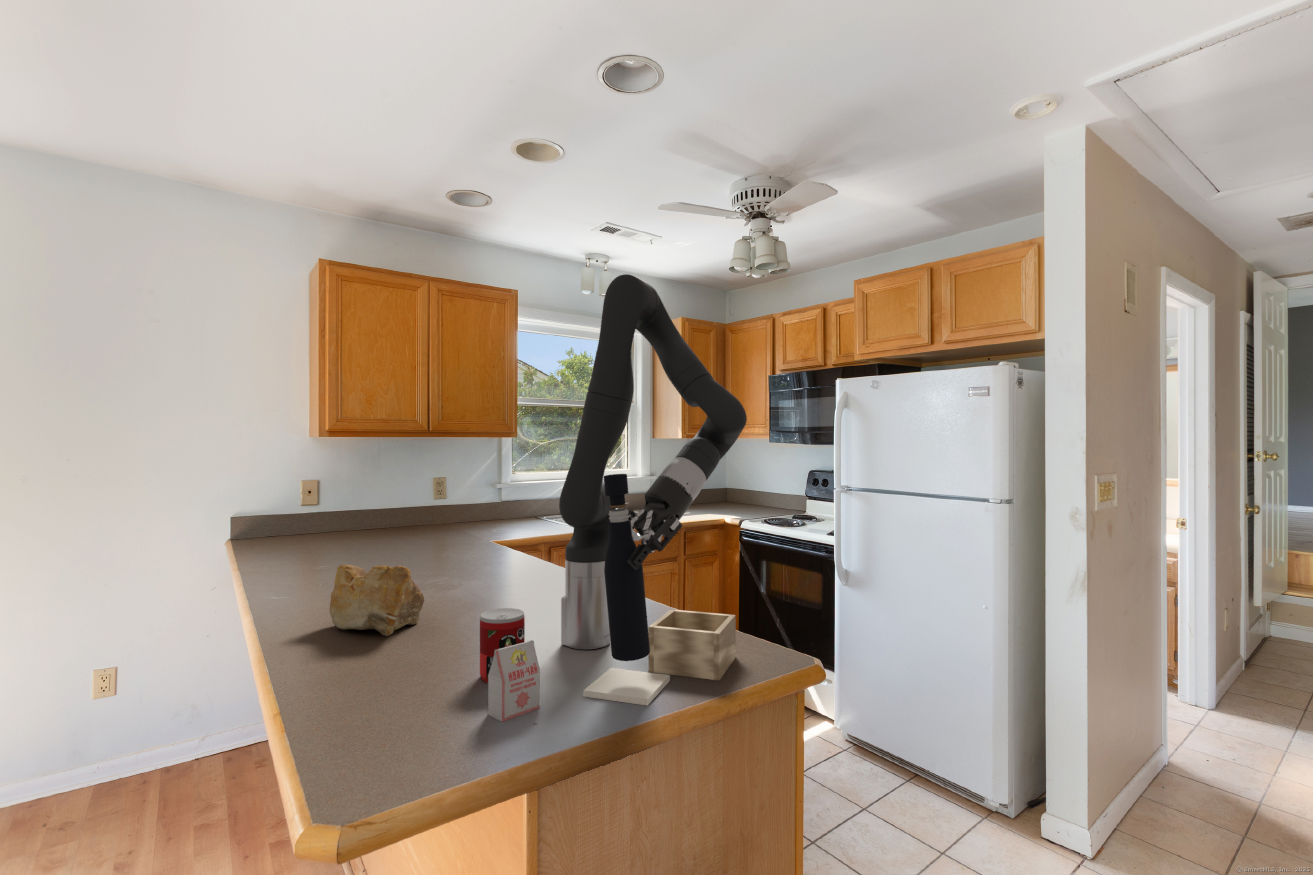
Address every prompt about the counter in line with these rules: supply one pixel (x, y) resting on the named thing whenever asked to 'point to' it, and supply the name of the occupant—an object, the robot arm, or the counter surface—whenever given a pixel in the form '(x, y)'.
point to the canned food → (499, 634)
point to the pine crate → (692, 644)
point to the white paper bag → (514, 681)
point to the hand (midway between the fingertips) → (620, 563)
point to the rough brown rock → (375, 598)
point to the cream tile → (627, 686)
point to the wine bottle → (624, 580)
